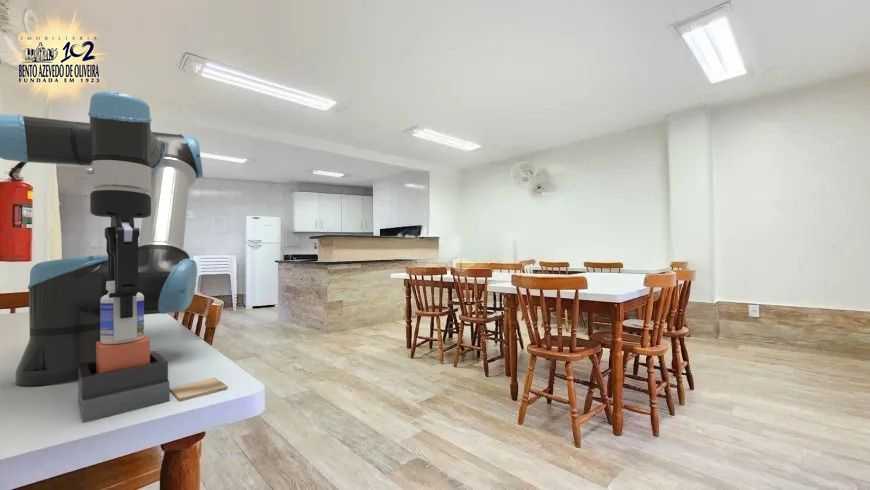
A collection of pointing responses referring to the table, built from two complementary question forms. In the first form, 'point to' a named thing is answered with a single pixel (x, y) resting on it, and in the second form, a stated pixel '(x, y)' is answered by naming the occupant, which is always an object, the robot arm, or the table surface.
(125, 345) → the orange block
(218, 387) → the coaster
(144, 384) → the grey square tray
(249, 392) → the table surface
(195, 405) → the table surface
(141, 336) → the pill bottle
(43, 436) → the table surface
